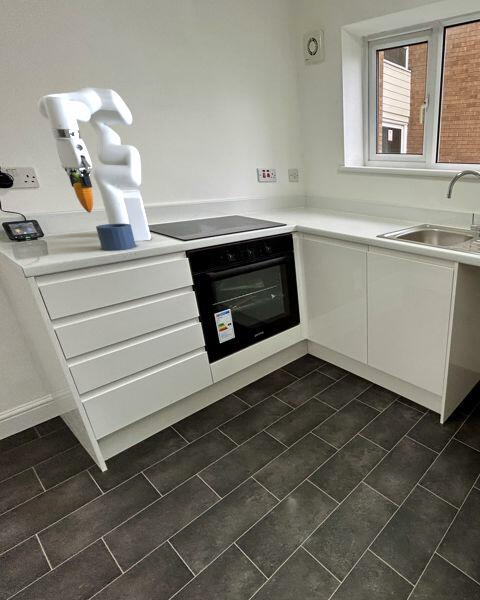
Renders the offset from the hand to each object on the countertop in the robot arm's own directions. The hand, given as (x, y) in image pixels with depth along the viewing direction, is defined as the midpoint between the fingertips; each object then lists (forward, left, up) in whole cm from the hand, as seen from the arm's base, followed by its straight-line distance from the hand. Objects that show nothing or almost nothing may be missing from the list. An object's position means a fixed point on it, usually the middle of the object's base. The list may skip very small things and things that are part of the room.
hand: (82, 186), depth 135 cm
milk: (-19, -1, -24) cm, 31 cm away
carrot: (0, 0, -10) cm, 10 cm away
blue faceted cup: (-4, +5, -24) cm, 25 cm away
